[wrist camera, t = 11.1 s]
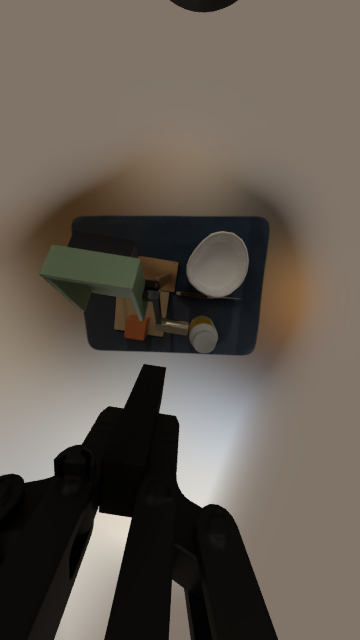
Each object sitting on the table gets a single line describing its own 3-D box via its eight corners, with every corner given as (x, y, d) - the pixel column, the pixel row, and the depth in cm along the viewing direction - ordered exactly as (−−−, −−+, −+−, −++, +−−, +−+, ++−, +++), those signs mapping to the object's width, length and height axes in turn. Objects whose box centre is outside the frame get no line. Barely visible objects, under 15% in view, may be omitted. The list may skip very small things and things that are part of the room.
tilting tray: (190, 310, 33) (185, 341, 31) (97, 295, 33) (87, 325, 31) (206, 249, 19) (200, 300, 17) (42, 222, 19) (18, 270, 17)
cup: (184, 288, 41) (183, 295, 32) (189, 236, 38) (190, 228, 29) (230, 292, 41) (243, 300, 32) (238, 241, 38) (255, 233, 29)
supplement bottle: (218, 326, 43) (227, 343, 34) (201, 342, 44) (204, 363, 35) (201, 309, 42) (205, 322, 33) (184, 326, 43) (182, 343, 34)
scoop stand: (174, 291, 41) (164, 310, 24) (113, 281, 41) (60, 294, 24) (178, 262, 40) (171, 261, 23) (115, 252, 40) (60, 242, 23)
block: (143, 340, 40) (145, 322, 39) (124, 337, 40) (125, 318, 39) (147, 334, 44) (149, 316, 43) (129, 331, 44) (131, 313, 43)
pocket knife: (176, 294, 42) (176, 296, 40) (176, 290, 41) (176, 291, 39) (240, 300, 41) (243, 302, 39) (241, 296, 41) (244, 298, 39)
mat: (118, 283, 41) (117, 283, 41) (169, 291, 41) (169, 292, 41) (114, 328, 44) (114, 329, 44) (163, 336, 44) (163, 336, 44)
